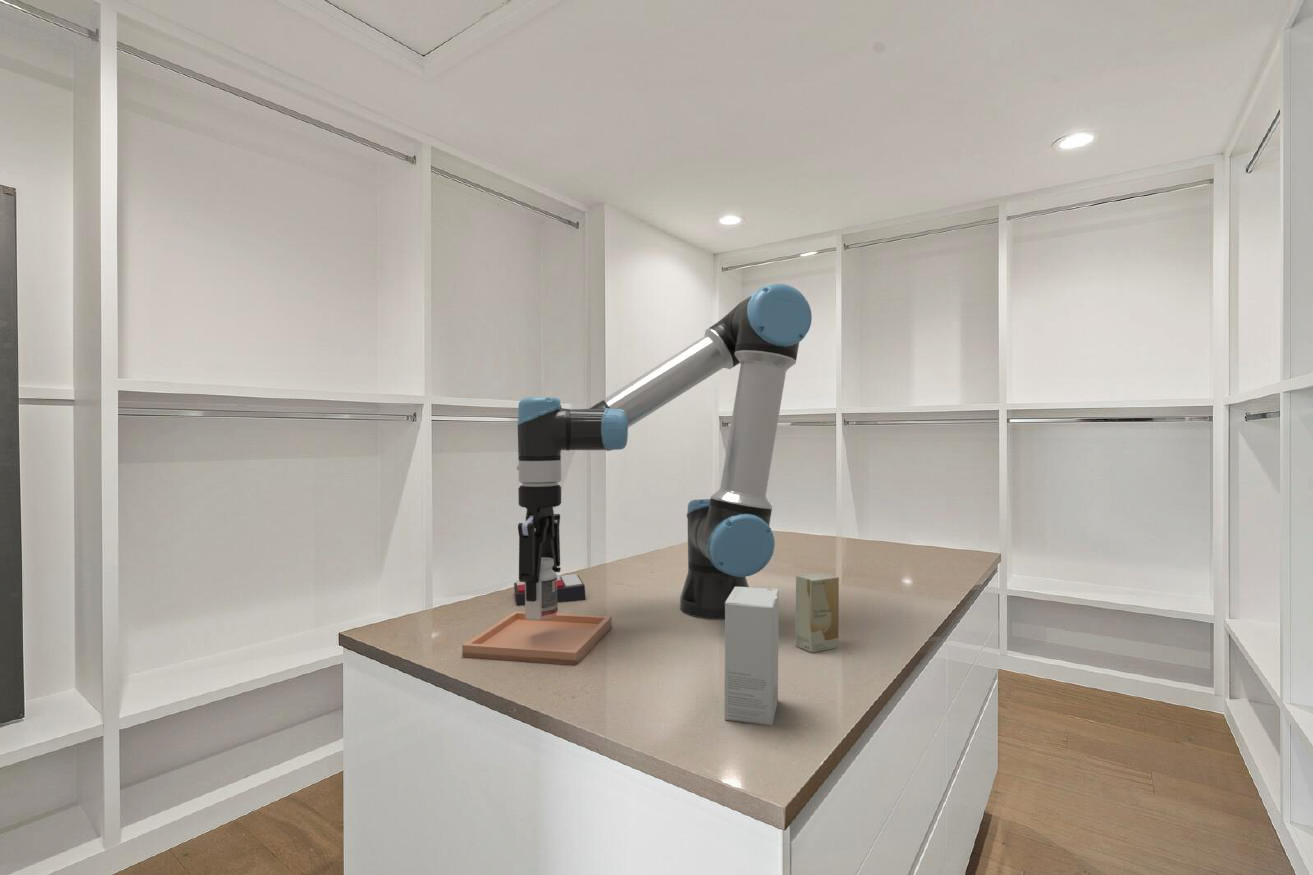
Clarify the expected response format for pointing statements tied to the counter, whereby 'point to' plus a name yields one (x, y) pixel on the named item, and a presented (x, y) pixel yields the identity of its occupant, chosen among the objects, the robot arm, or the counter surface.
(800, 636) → the skincare box
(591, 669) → the counter surface
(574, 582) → the calculator
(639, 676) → the counter surface
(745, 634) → the skincare box
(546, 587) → the pill bottle
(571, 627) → the tray
